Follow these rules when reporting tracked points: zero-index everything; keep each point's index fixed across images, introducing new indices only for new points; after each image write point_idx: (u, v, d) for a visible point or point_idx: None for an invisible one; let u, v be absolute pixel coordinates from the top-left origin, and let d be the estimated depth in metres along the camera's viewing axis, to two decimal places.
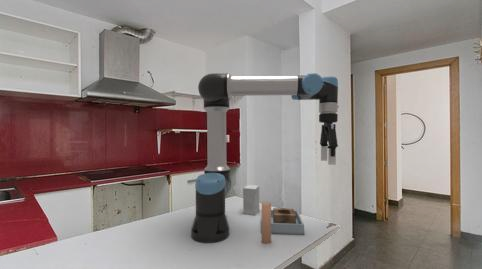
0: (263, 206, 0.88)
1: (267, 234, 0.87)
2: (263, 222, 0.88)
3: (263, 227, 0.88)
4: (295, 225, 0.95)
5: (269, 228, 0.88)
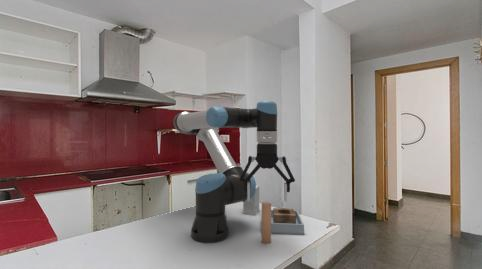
0: (263, 206, 0.88)
1: (267, 234, 0.87)
2: (263, 222, 0.88)
3: (263, 227, 0.88)
4: (295, 225, 0.95)
5: (269, 228, 0.88)
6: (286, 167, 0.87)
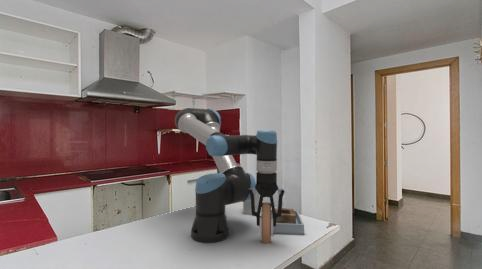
0: (263, 206, 0.88)
1: (267, 234, 0.87)
2: (263, 222, 0.88)
3: (263, 227, 0.88)
4: (295, 225, 0.95)
5: (269, 228, 0.88)
6: (280, 200, 0.87)
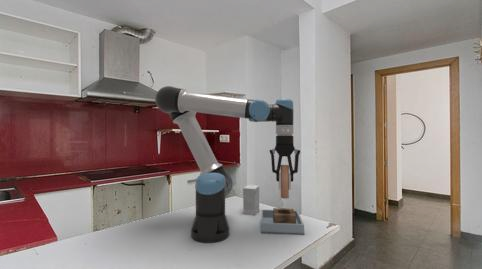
0: (282, 167, 1.03)
1: (286, 191, 1.02)
2: (282, 180, 1.03)
3: (282, 185, 1.03)
4: (295, 225, 0.95)
5: (287, 185, 1.03)
6: (296, 159, 1.02)
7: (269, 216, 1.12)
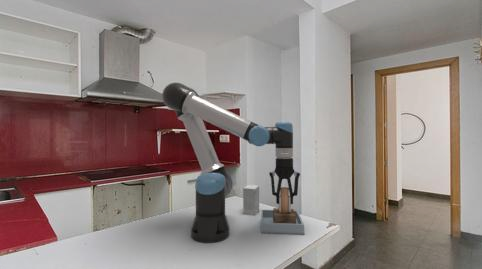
0: (282, 190, 1.03)
1: None
2: (282, 203, 1.03)
3: (282, 208, 1.03)
4: (295, 225, 0.95)
5: (287, 208, 1.03)
6: (296, 182, 1.02)
7: (269, 216, 1.12)
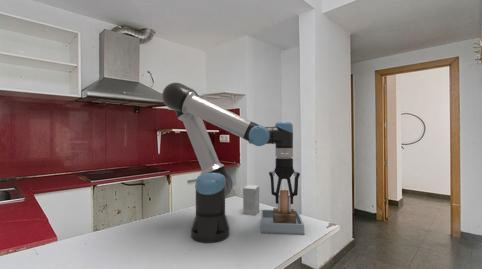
0: (282, 193, 1.03)
1: None
2: (281, 206, 1.03)
3: (281, 210, 1.03)
4: (295, 225, 0.95)
5: (287, 211, 1.03)
6: (296, 181, 1.02)
7: (269, 216, 1.12)
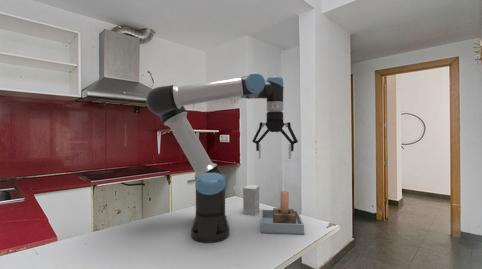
0: (282, 194, 1.03)
1: None
2: (282, 207, 1.03)
3: (282, 212, 1.03)
4: (295, 225, 0.95)
5: (287, 213, 1.03)
6: (290, 131, 1.06)
7: (269, 216, 1.12)
